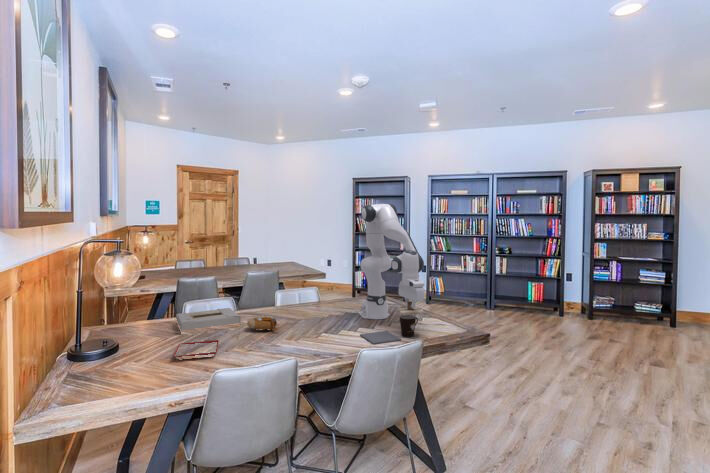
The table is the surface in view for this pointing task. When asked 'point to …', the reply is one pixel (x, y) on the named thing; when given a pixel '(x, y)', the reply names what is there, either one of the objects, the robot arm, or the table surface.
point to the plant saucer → (199, 353)
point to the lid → (410, 309)
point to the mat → (380, 337)
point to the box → (207, 318)
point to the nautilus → (263, 323)
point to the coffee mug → (408, 325)
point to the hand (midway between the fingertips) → (410, 307)
